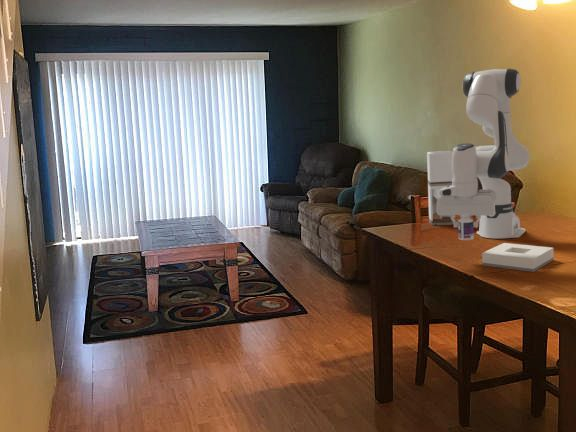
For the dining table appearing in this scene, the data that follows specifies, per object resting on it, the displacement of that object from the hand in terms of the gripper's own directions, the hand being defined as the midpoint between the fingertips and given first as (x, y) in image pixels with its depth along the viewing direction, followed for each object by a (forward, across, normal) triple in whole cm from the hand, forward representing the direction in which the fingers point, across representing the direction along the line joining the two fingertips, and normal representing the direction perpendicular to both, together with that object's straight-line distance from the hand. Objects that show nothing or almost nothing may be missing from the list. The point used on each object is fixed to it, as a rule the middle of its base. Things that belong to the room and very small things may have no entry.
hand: (465, 227), depth 211 cm
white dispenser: (+15, +21, -74) cm, 78 cm away
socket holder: (+13, -18, 0) cm, 22 cm away
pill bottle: (+4, 0, 0) cm, 5 cm away
